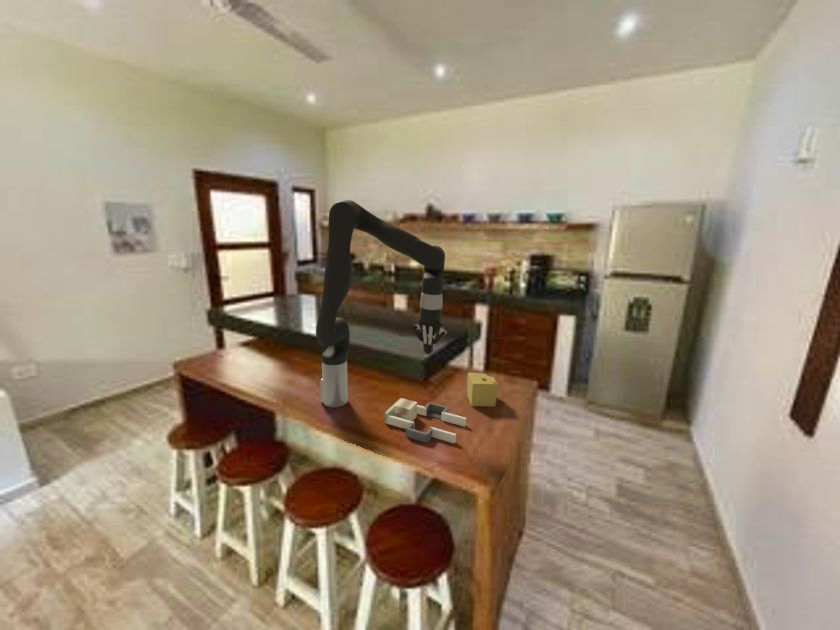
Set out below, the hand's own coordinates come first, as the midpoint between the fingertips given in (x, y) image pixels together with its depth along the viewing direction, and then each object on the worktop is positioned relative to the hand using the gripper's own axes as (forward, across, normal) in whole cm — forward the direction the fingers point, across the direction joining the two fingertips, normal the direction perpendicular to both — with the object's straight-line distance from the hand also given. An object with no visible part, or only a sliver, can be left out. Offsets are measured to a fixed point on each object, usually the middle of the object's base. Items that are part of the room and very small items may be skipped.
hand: (428, 353), depth 129 cm
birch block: (+24, -5, -6) cm, 26 cm away
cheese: (+24, +16, +20) cm, 35 cm away
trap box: (+24, +3, -6) cm, 25 cm away
